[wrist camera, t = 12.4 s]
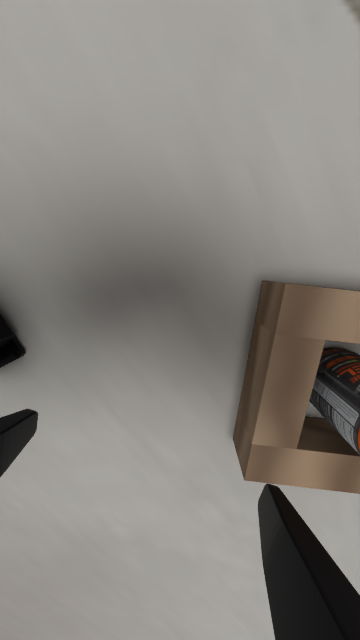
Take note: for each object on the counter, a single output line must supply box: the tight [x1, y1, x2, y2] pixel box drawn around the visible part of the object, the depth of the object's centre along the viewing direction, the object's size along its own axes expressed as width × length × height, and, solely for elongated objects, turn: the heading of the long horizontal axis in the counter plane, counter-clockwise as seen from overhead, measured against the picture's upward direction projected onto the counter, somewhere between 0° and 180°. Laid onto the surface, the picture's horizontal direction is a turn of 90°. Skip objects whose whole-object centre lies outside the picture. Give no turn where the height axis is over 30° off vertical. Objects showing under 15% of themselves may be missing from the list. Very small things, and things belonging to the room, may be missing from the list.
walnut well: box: [233, 281, 360, 494], centre depth 18 cm, size 16×16×4 cm
